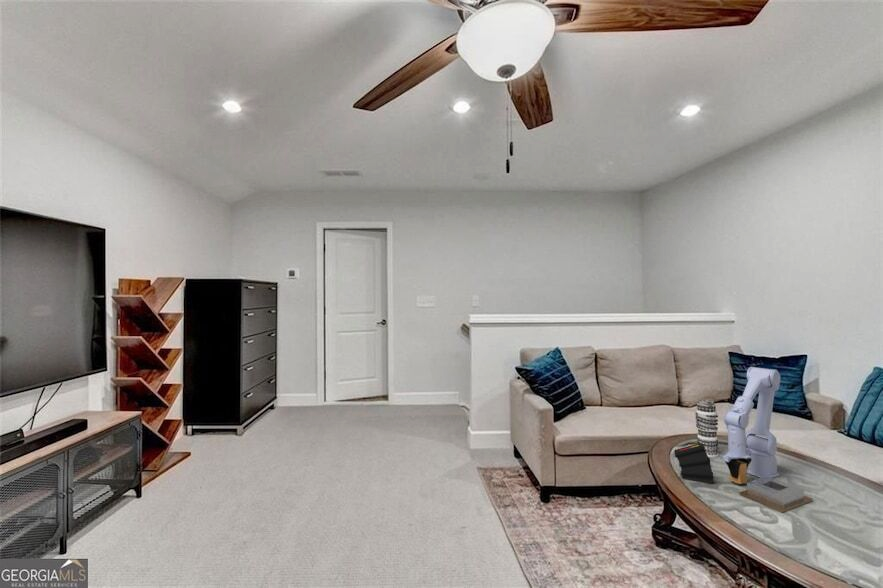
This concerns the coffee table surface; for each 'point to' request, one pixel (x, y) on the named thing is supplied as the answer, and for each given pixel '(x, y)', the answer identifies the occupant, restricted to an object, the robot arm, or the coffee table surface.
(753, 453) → the robot arm
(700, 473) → the black ridged slab
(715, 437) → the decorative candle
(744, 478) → the orange rectangular block
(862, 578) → the coffee table surface
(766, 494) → the socket
